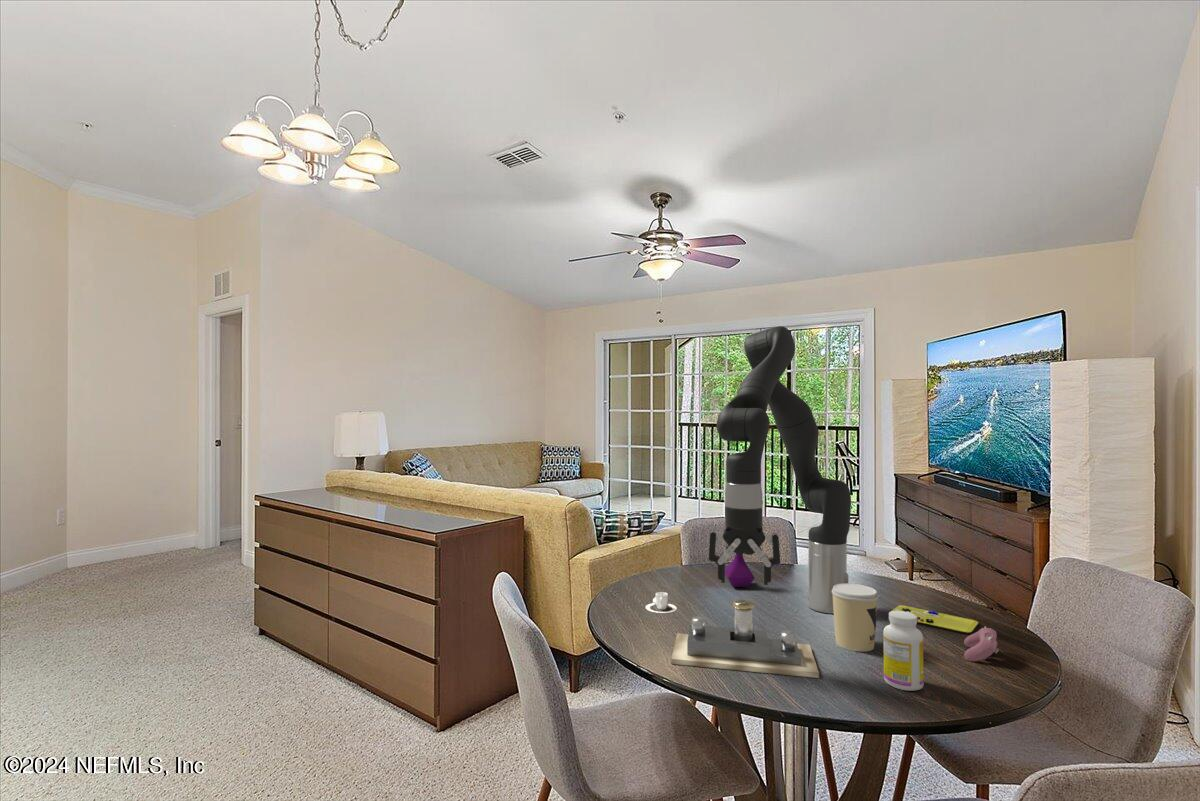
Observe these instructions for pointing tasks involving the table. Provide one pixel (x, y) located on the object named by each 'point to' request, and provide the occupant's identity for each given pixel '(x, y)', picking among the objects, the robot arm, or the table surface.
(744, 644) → the knobbed grey block
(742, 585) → the perfume bottle
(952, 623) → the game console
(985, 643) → the video game controller
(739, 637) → the pin
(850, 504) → the robot arm
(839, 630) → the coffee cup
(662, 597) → the teacup and saucer
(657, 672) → the table surface
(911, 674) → the supplement bottle
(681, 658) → the birch board
